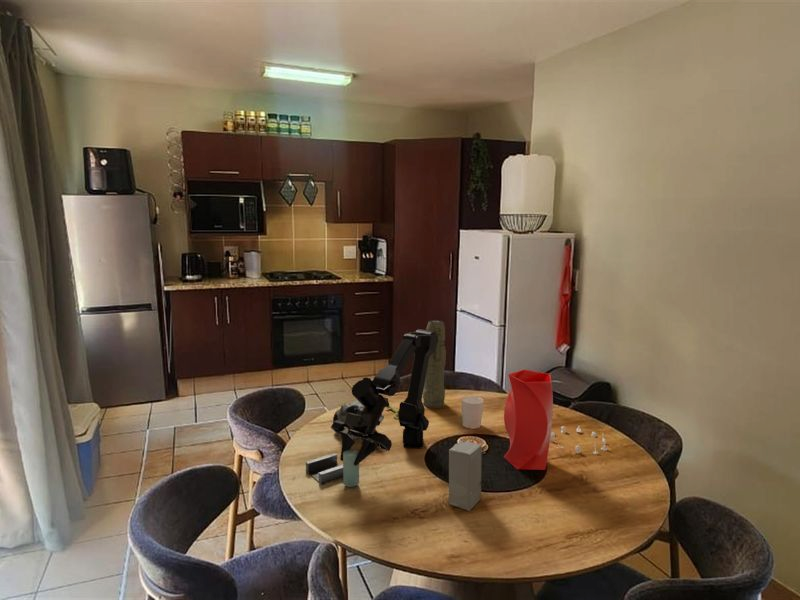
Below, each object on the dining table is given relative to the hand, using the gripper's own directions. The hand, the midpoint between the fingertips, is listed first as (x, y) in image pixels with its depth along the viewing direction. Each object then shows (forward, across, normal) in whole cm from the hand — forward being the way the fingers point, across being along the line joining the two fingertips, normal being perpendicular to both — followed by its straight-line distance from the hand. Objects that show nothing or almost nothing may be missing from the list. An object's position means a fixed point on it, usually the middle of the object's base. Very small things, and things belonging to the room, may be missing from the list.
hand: (348, 462), depth 145 cm
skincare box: (-4, +30, +15) cm, 34 cm away
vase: (-26, +36, +38) cm, 58 cm away
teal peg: (+4, 0, +6) cm, 7 cm away
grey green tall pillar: (-44, -13, +56) cm, 73 cm away
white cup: (-37, +10, +49) cm, 62 cm away
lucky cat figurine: (-16, -21, +28) cm, 38 cm away
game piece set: (-43, +46, +55) cm, 84 cm away
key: (-32, -19, +44) cm, 58 cm away
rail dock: (+3, -10, +8) cm, 13 cm away
